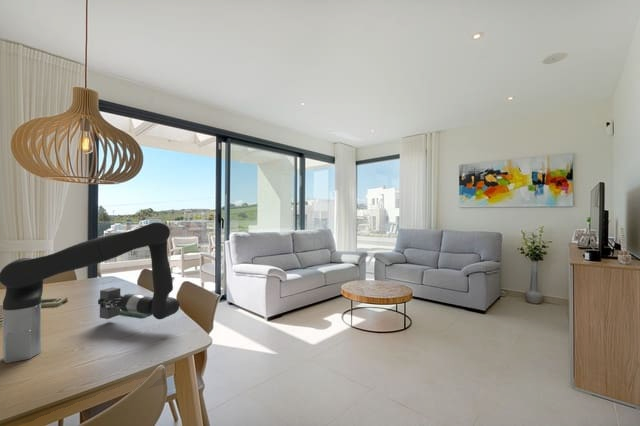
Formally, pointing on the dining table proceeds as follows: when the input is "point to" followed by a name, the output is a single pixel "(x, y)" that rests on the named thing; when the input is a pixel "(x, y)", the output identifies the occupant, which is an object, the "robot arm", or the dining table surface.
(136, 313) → the board
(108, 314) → the block
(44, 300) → the computer
